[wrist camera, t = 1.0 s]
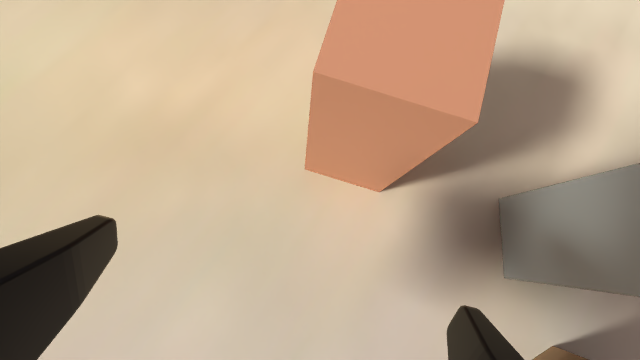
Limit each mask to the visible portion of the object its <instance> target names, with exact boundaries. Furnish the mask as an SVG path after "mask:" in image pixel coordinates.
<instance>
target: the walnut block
mask: <svg viewBox="0 0 640 360" xmlns="http://www.w3.org/2000/svg"><path fill="white" fill-rule="evenodd" d="M533 360H588V359H586V358H583V357H580V356H578V355H575V354H572V353H570V352H567V351H565V350H562V349H559V348H557V347H554V346H552V347H550V348H549V349H547V350H546V351H544V352H543V353H541V354H540V355H538V356H537V357H536V358H534V359H533Z"/></svg>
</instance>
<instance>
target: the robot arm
mask: <svg viewBox="0 0 640 360" xmlns="http://www.w3.org/2000/svg"><path fill="white" fill-rule="evenodd" d="M117 245H118V240H117V227H116V221H115V220H114V219H113V218H109V217H105V216H101V215H96V216H93V217H90V218H87V219H84V220H81V221H78V222H75V223H72V224H69V225H66V226H64V227H61V228H58V229H55V230H52V231H49V232H46V233H43V234H40V235H37V236H34V237H32V238H29V239H26V240H23V241H20V242H17V243H14V244H11V245H8V246H5V247H2V248H0V360H37V359H38V358H39V357H40V355H41V354H42V353H43V352H44V350H45V349H46V348H47V347H48V345H49V344H50V343H51V342H52V340H53V339H54V338H55V337H56V336H57V334H58V333H59V332H60V331H61V329H62V328H63V327H64V326H65V324H66V323H67V322H68V321H69V319H70V318H71V317H72V316H73V314H74V313H75V312H76V311H77V309H78V308H79V307H80V305H81V304H82V302H83V301H84V300H85V298H86V297H87V295H88V294H89V292H90V290H91V289H92V287H93V286H94V284H95V283H96V281H97V280H98V278H99V277H100V275H101V274H102V272H103V270H104V269H105V267H106V266H107V264H108V263H109V261H110V260H111V258H112V257H113V255H114V253H115V252H116V249H117ZM447 345H448V360H524V359H523V358H522V357H521V355H520V354H519V353H518V352H517V351H516V350H515V349H514V348H513V347H512V345H511V344H510V343H509V342H508V341H507V340H506V339H505V338H504V337H503V335H502V334H501V333H500V332H499V331H498V330H497V329H496V328H495V327H494V325H493V324H492V323H491V322H490V321H489V320H488V319H487V318H486V317H485V315H484V314H483V313H482V312H481V311H480V310H479V309H477V308H473V307H469V306H465V305H464V306H461V307H460V308H459V309H458V311H457V312H456V314H455V316H454V317H453V319H452V320H451V322H450V324H449V326H448V329H447Z"/></svg>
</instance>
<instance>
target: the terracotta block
mask: <svg viewBox="0 0 640 360" xmlns="http://www.w3.org/2000/svg"><path fill="white" fill-rule="evenodd" d="M503 5H504V0H337V2H336V5H335V8H334V11H333V14H332V17H331V20H330V23H329V26H328V29H327V32H326V35H325V38H324V41H323V44H322V47H321V50H320V53H319V56H318V59H317V62H316V65H315V68H314V71H313V80H312V91H311V102H310V114H309V125H308V137H307V148H306V159H305V169H306V170H309V171H312V172H316V173H319V174H322V175H325V176H328V177H332V178H335V179H338V180H341V181H345V182H348V183H351V184H354V185H358V186H361V187H364V188H367V189H371V190H374V191H377V192H380V191H381V190H383V189H384V188H386V187H387V186H389V185H390V184H391V183H393V182H394V181H396V180H397V179H399V178H400V177H401V176H403V175H404V174H406V173H407V172H409V171H410V170H411V169H413V168H414V167H416V166H417V165H418V164H420V163H421V162H423V161H424V160H426V159H427V158H428V157H430V156H431V155H433V154H434V153H436V152H437V151H438V150H440V149H441V148H443V147H444V146H446V145H447V144H448V143H450V142H451V141H453V140H454V139H456V138H457V137H458V136H460V135H461V134H463V133H464V132H465V131H467V130H468V129H470V128H471V127H473V126H474V125H475V124H477V123H478V120H479V116H480V111H481V106H482V102H483V97H484V92H485V88H486V83H487V79H488V74H489V69H490V65H491V60H492V56H493V51H494V46H495V42H496V37H497V32H498V28H499V23H500V19H501V14H502V9H503Z"/></svg>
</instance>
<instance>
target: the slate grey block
mask: <svg viewBox="0 0 640 360" xmlns="http://www.w3.org/2000/svg"><path fill="white" fill-rule="evenodd" d="M499 210H500V224H501V238H502V252H503V266H504V278H507V279H515V280H522V281H529V282H536V283H543V284H551V285H558V286H565V287H572V288H580V289H587V290H594V291H601V292H608V293H616V294H623V295H630V296H637V297H640V163H639V164H635V165H631V166H627V167H623V168H619V169H615V170H611V171H607V172H603V173H599V174H595V175H591V176H587V177H583V178H579V179H575V180H571V181H567V182H563V183H559V184H556V185H552V186H548V187H544V188H540V189H536V190H532V191H528V192H524V193H520V194H516V195H512V196H508V197H504V198H500V199H499Z"/></svg>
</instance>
